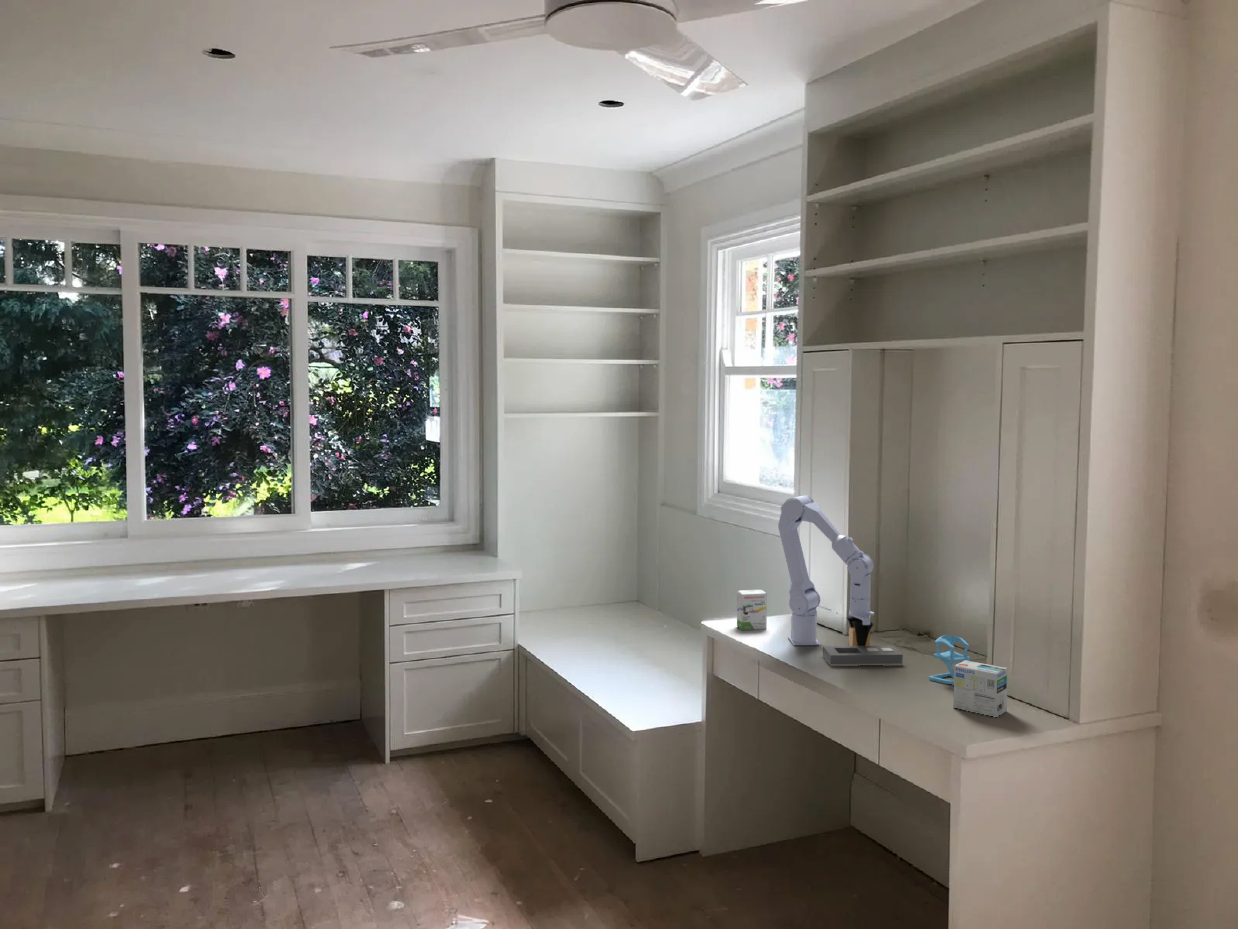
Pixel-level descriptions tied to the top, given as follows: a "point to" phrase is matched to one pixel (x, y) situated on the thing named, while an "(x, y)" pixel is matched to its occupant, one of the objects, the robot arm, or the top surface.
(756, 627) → the ink box
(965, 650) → the chair
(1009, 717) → the top surface
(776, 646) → the top surface
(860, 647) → the power strip
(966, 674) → the light bulb box
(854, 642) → the plug block
